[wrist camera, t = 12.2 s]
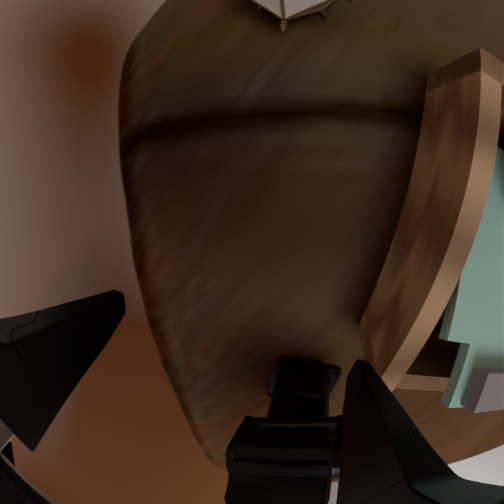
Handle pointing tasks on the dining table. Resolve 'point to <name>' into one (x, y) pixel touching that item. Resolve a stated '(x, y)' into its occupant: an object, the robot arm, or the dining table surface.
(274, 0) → the game die
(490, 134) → the box frame
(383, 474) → the robot arm
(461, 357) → the trapdoor
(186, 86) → the dining table surface
